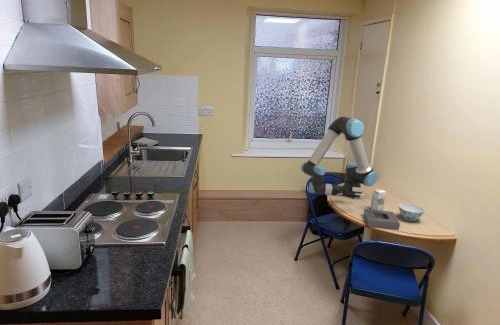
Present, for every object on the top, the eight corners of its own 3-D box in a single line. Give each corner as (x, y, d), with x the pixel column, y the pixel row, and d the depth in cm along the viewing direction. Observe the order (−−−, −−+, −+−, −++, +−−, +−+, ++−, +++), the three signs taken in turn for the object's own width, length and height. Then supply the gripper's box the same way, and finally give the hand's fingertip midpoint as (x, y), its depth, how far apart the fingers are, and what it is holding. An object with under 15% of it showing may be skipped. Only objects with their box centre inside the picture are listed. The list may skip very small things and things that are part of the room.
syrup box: (376, 208, 239) (379, 188, 235) (382, 211, 233) (386, 191, 230) (370, 209, 237) (373, 189, 233) (376, 212, 231) (379, 192, 228)
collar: (363, 214, 227) (364, 208, 226) (392, 217, 224) (393, 211, 223) (367, 226, 210) (368, 220, 209) (398, 229, 207) (399, 223, 206)
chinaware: (401, 212, 234) (402, 201, 232) (425, 218, 225) (427, 207, 223) (394, 218, 222) (395, 207, 220) (418, 226, 213) (421, 214, 211)
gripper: (329, 189, 249) (360, 192, 246) (331, 201, 226) (365, 205, 222) (331, 179, 247) (361, 182, 244) (333, 190, 224) (367, 194, 220)
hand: (363, 193), depth 233 cm, fingers open, 13 cm apart
